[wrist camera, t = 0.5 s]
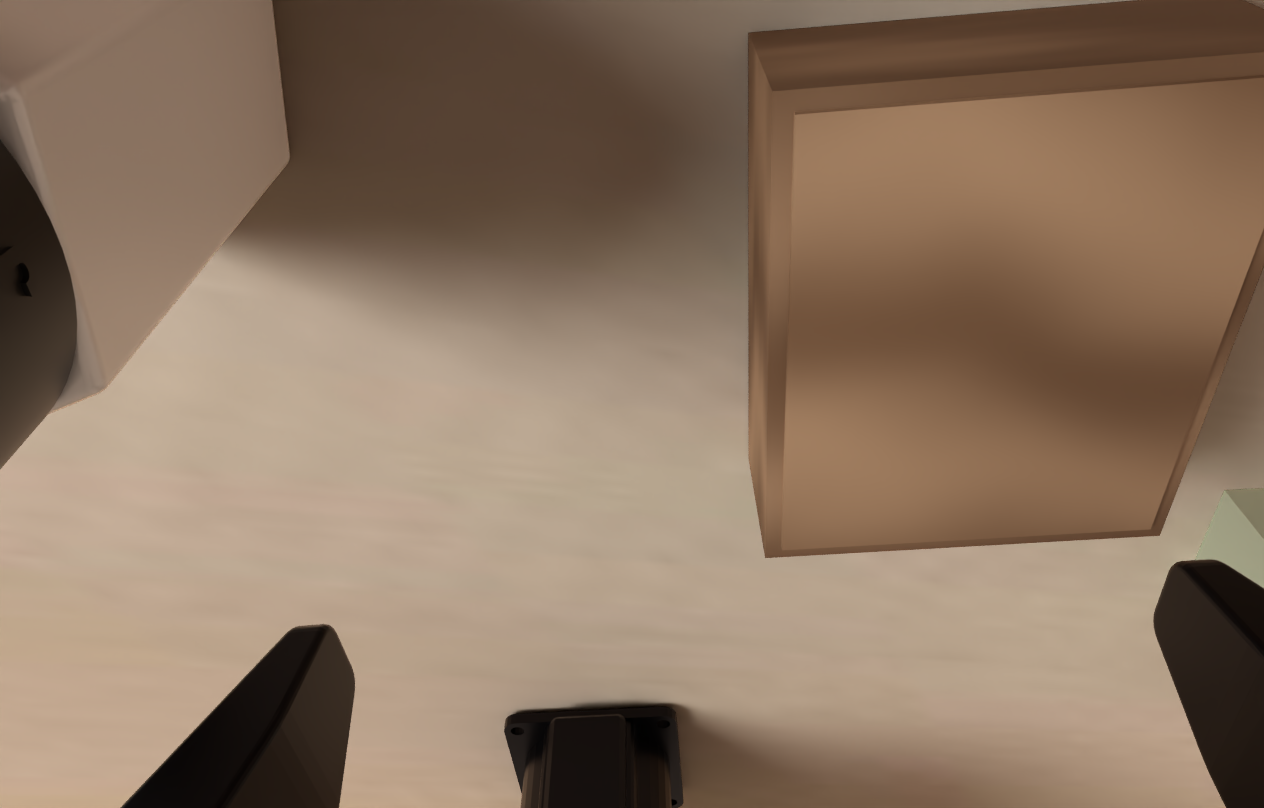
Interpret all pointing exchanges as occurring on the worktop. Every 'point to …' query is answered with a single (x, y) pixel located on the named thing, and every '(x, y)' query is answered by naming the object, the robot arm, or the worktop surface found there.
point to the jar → (120, 177)
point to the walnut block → (995, 268)
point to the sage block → (1238, 533)
